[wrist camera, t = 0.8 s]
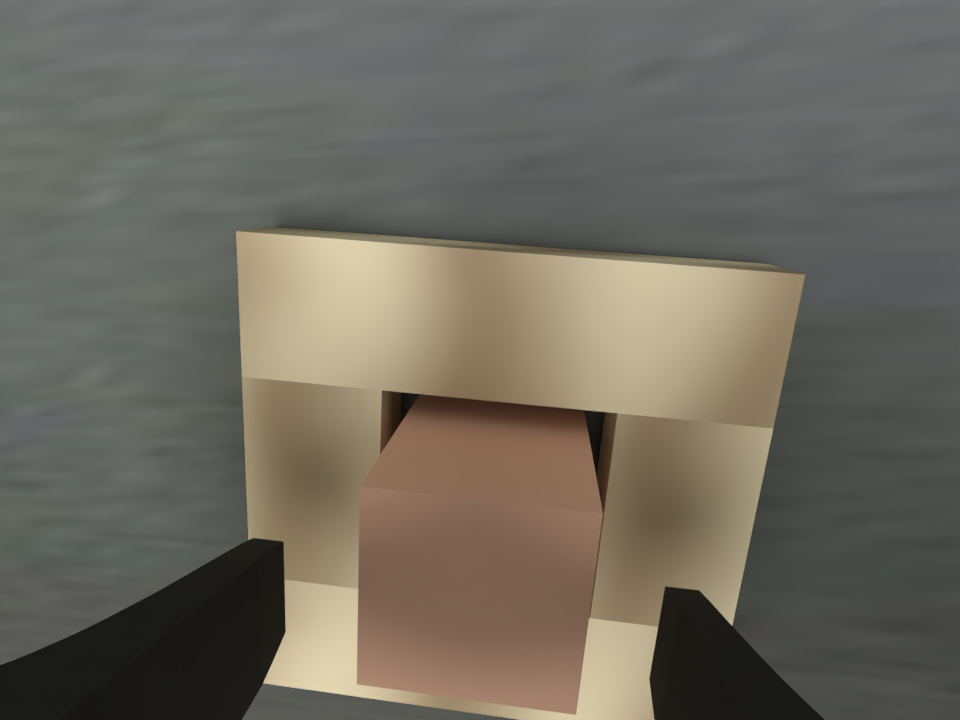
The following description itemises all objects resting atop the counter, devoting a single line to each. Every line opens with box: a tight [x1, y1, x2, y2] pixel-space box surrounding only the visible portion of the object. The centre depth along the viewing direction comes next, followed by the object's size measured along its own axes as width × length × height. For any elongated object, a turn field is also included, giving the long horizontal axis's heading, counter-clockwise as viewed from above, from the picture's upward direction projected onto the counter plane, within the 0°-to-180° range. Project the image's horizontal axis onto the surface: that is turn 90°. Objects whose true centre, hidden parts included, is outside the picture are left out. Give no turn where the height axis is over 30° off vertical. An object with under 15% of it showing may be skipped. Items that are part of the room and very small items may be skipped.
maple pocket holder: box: [236, 227, 805, 720], centre depth 16 cm, size 13×13×2 cm
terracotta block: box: [357, 394, 603, 715], centre depth 14 cm, size 4×4×6 cm
